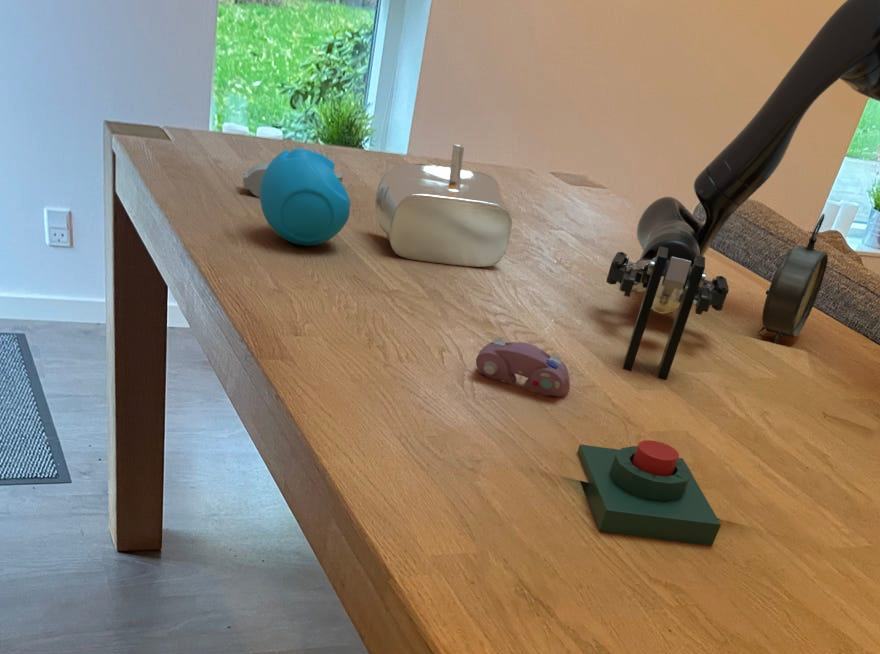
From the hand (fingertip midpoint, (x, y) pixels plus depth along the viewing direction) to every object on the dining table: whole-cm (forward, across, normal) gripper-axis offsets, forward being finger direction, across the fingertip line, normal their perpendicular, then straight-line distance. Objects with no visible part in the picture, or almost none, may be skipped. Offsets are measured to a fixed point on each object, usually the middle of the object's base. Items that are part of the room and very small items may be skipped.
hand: (665, 296), depth 115 cm
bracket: (+8, 0, +7) cm, 11 cm away
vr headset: (-22, -31, +7) cm, 39 cm away
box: (+39, +2, +7) cm, 40 cm away
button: (+39, +2, +4) cm, 40 cm away
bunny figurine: (-31, -56, +7) cm, 65 cm away
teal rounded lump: (-10, -48, +7) cm, 50 cm away
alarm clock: (-20, +16, +8) cm, 27 cm away
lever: (+4, 0, 0) cm, 4 cm away
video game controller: (+22, -12, +8) cm, 26 cm away
